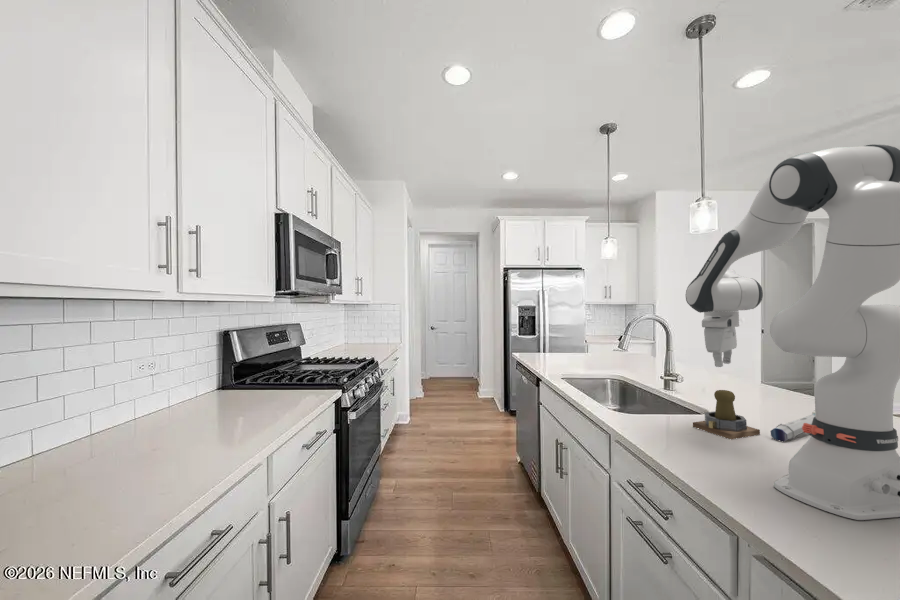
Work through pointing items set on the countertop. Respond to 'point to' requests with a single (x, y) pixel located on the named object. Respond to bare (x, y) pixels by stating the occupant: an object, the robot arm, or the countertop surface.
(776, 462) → the countertop surface
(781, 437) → the grey and blue bar
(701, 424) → the base plate
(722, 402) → the cork
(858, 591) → the countertop surface
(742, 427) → the collar
